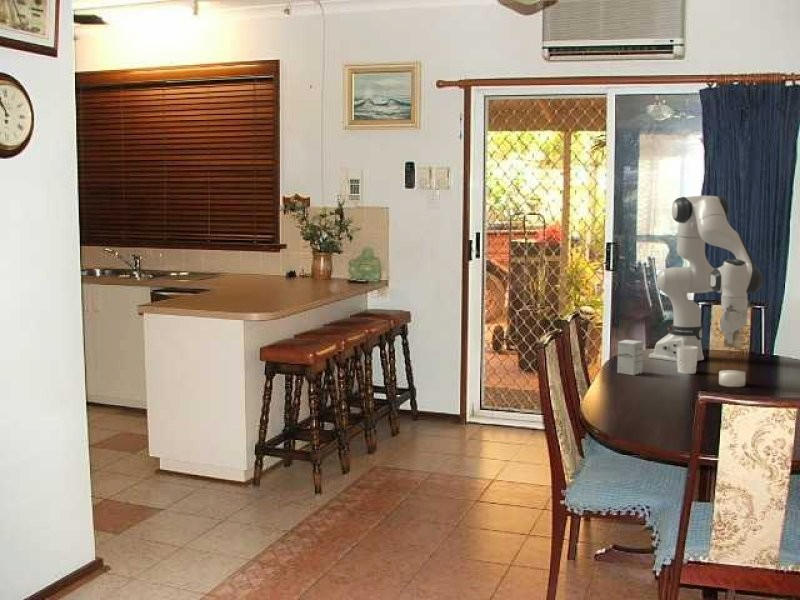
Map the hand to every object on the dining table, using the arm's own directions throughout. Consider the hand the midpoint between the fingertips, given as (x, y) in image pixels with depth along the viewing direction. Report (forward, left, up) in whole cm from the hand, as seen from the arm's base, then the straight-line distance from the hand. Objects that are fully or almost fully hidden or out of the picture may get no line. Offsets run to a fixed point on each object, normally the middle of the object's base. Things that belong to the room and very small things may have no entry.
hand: (733, 342), depth 319 cm
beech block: (0, 0, -2) cm, 2 cm away
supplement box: (-39, 0, -16) cm, 42 cm away
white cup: (-21, +13, -16) cm, 29 cm away
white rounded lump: (0, 0, -16) cm, 16 cm away
